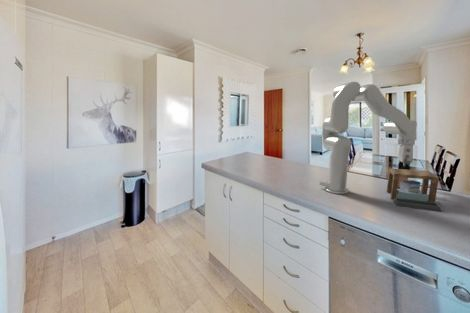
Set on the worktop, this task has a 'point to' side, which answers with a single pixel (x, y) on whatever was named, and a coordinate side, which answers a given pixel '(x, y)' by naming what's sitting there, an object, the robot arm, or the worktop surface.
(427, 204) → the dark grey flat slab
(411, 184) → the medicine box
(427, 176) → the tunnel
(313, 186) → the worktop surface
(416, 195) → the grey-green low block
